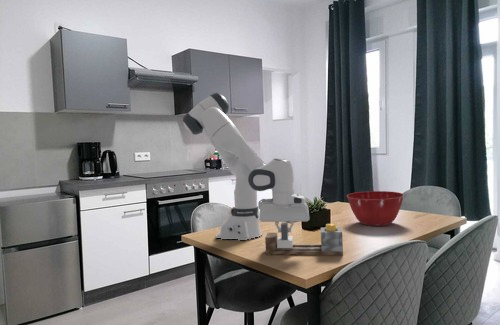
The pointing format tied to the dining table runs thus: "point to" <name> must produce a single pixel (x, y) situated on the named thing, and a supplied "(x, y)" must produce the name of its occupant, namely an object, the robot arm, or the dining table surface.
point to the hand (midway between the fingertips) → (284, 232)
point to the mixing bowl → (375, 206)
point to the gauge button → (330, 227)
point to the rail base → (329, 245)
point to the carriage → (284, 237)
